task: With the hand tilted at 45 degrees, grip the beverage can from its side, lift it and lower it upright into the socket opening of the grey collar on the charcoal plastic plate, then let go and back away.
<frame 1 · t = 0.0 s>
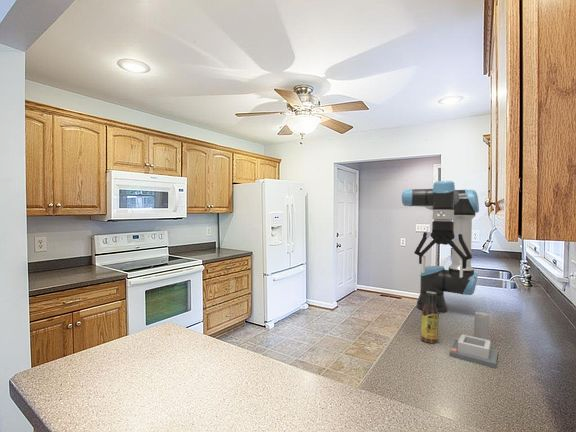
hand: (441, 274, 121), 28 cm above the countertop, tool pointing down, fingers open, 13 cm apart
beverage can: (480, 343, 124), on the countertop
sauce bottle: (429, 341, 126), on the countertop
socket plate: (474, 354, 114), on the countertop
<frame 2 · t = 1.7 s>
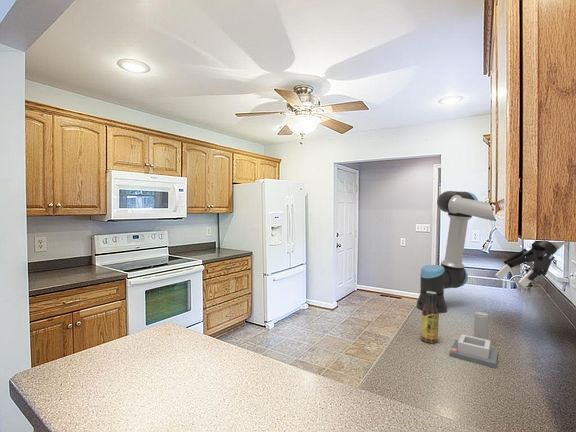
hand: (508, 280, 124), 25 cm above the countertop, tool tilted 45°, fingers open, 13 cm apart
nothing on the countertop moved.
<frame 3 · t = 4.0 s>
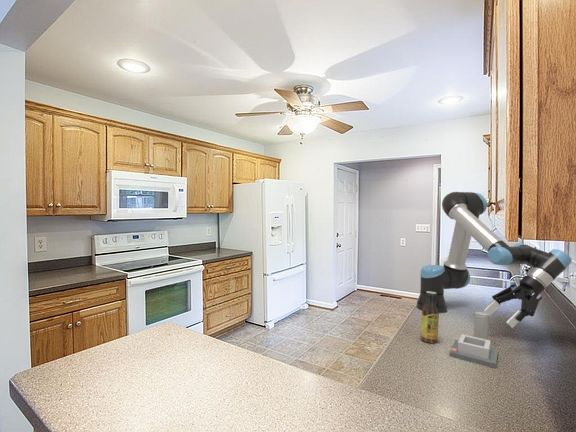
hand: (497, 319, 123), 10 cm above the countertop, tool tilted 45°, fingers open, 13 cm apart
nothing on the countertop moved.
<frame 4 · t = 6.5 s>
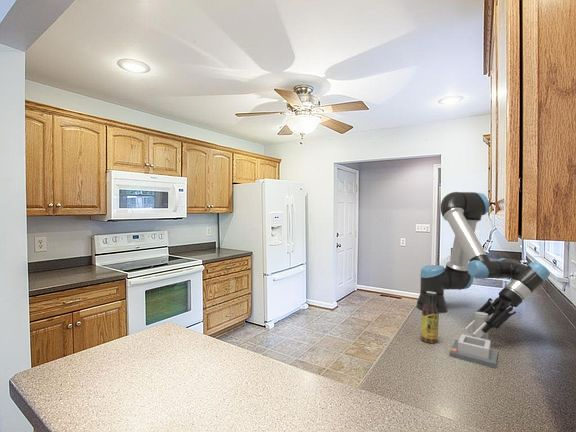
hand: (471, 333, 124), 4 cm above the countertop, tool tilted 45°, fingers closed on beverage can, 5 cm apart
beverage can: (480, 343, 124), on the countertop, touching gripper
everything else where it was.
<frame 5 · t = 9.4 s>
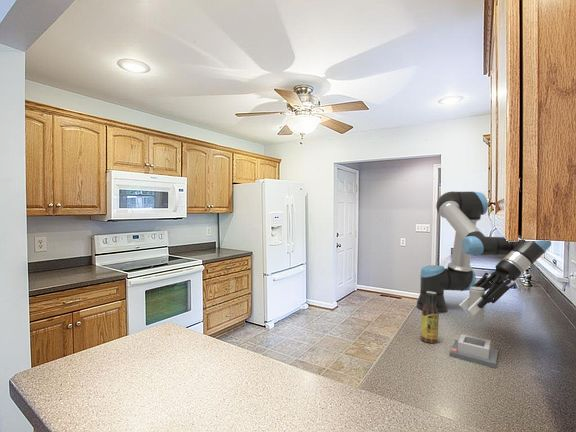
hand: (466, 310, 114), 16 cm above the countertop, tool tilted 45°, fingers closed on beverage can, 5 cm apart
beverage can: (476, 320, 114), point 13 cm above the countertop, touching gripper
everything else where it was.
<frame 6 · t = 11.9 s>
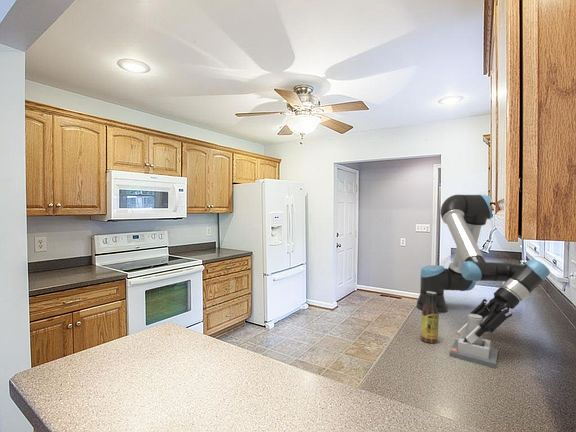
hand: (464, 337, 114), 6 cm above the countertop, tool tilted 45°, fingers closed on beverage can, socket plate, 5 cm apart
beverage can: (474, 348, 114), point 2 cm above the countertop, touching gripper
everything else where it was.
when the fingers open (6 cm above the countertop, at t = 12.1 s): beverage can stays where it is, resting on socket plate.
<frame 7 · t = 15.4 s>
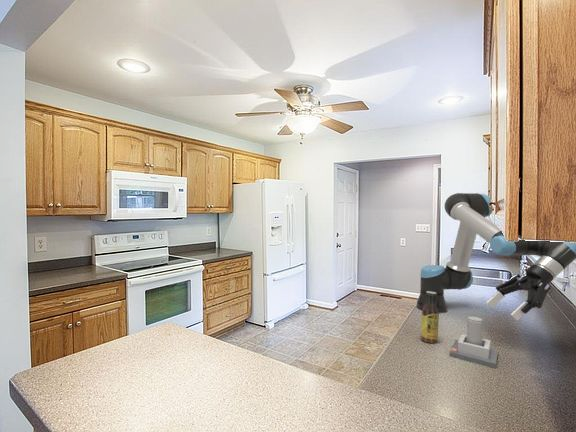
hand: (500, 311, 113), 16 cm above the countertop, tool tilted 45°, fingers open, 13 cm apart
beverage can: (474, 351, 114), point 1 cm above the countertop, touching socket plate
everything else where it was.
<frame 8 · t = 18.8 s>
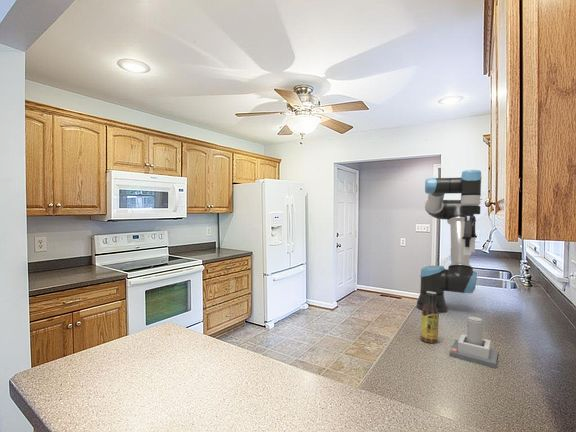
hand: (469, 253, 136), 35 cm above the countertop, tool pointing down, fingers open, 13 cm apart
nothing on the countertop moved.
at the end: beverage can 0.1 cm off-centre on the socket plate, point 1.3 cm above the socket plate's base; beverage can tilted 0°; the gripper is holding nothing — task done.
